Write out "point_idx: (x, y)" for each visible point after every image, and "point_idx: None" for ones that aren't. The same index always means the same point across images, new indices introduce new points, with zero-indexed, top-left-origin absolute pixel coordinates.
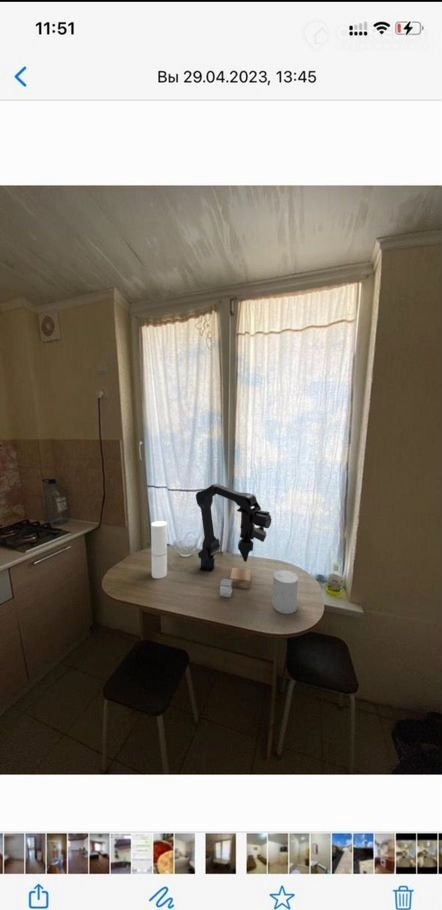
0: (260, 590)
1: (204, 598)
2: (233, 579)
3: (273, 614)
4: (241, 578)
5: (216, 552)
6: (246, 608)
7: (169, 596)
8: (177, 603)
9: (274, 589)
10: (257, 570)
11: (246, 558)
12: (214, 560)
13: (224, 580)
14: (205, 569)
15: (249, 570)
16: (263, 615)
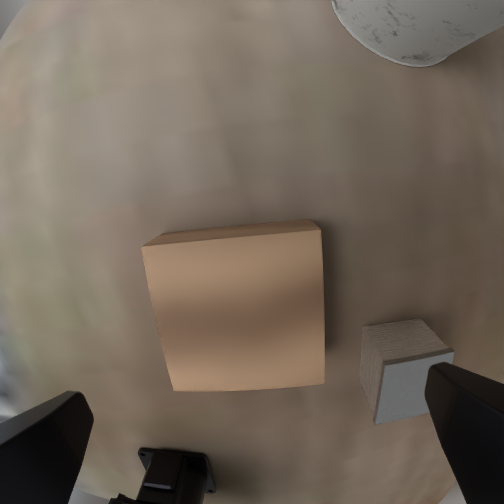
0: (308, 140)
1: (429, 415)
2: (324, 357)
3: (480, 73)
4: (307, 306)
5: (118, 500)
6: (483, 213)
7: (413, 492)
8: (448, 463)
9: (498, 27)
10: (70, 206)
11: (492, 394)
12: (164, 484)
13: (397, 406)
14: (208, 478)
15: (157, 262)
16: (500, 123)
